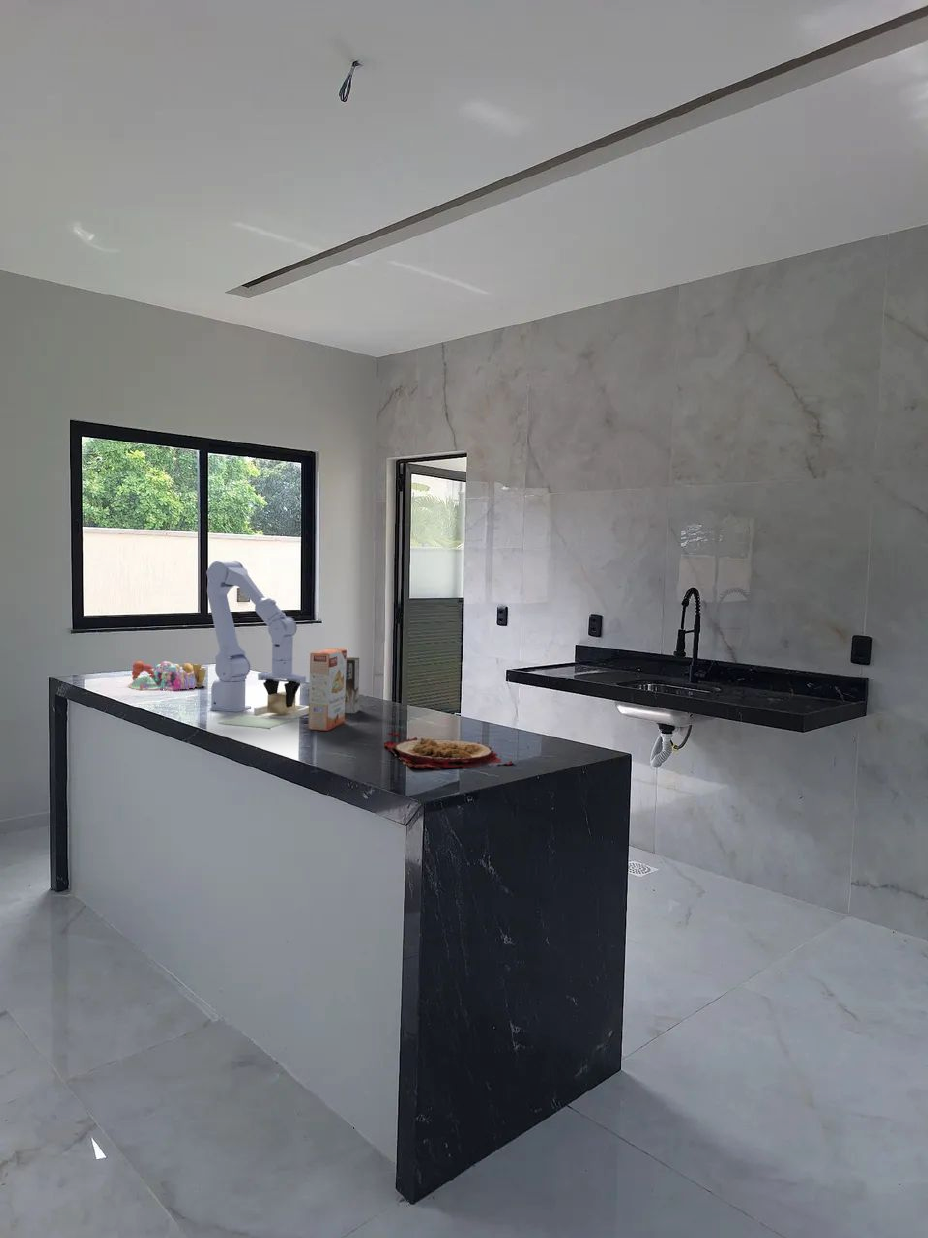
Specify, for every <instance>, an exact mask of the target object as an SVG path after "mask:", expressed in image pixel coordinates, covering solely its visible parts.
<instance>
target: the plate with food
mask: <svg viewBox="0 0 928 1238" xmlns="http://www.w3.org/2000/svg"><path fill="white" fill-rule="evenodd" d="M387 735H390V736H394V737H395V739H398V737H403V735H402V734H401V733H400V734H399V733H392V732H391V733H390V732H388V733H387ZM399 739H400V740H401V738H399ZM382 744H383V745H384V748H387V752H390V753H393V754H394V756H395V757H398V755H397V754H396V752H398V753H399V757H398V759H399V761H401V762H402V764H403V765H405V766H406V765H407V766H408V767H409V768H410V767H411V768H416V769H421V770H424V769H427V768H432V769H435V770H439V769H442V768H443V769H444V768H450V769H451V768H462V769H466V767H467V768H476V767H477V766H479V767H480V765H485V764H491V763H492V765H488V767H490V768H493V767H494V764H495V763H496V764H497V765H496V764H495V767H497V766H503V765H505V766H509V765H514V764H515V762H513V761H512V760H510V761H508V763H506V762H504V763H502V761H501V759H502V755H499V757H500V758H501V759H500V758H498V753H496V752H494V751H493V750H492V749H493V748H492V747H491V746H488V745H485V744H481V743H480V742H473V741H467V740H465V741H464V740H459V739H455V740H454V739H441V738H433V739H432V738H430V737H425V738H423V737H421V738H420V739H418V737H417V736H415V737H413V738H406V739H405V740H404V741H399V742H397V743H396V742H395V741H394V740H390V741H388V740H387V741H386V742H385V741H383V740H382ZM501 763H502V764H501ZM413 764H414V765H413Z"/></svg>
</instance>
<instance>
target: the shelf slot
mask: <svg viewBox="0 0 928 1238" xmlns="http://www.w3.org/2000/svg"><path fill="white" fill-rule="evenodd" d="M306 715H309V705H299V704H295V710H292V711H289V712H286V713H282V714H277V713H267V704H265V705H264V704H263V705H261V706H257V707H254V708H253V716H262V717H269V718H270V717H271V718H272V717H273V718H282V719H283V718H285V719H292V720H293V719H297V718H300V717H304V716H306Z"/></svg>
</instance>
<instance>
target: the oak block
mask: <svg viewBox="0 0 928 1238" xmlns="http://www.w3.org/2000/svg"><path fill="white" fill-rule="evenodd" d="M266 703H267V704H266V705H267V713H277V714H282V713H286V712H289V711H292V710H295V705H296V696H295V697H294V700H293V704H292V707H287V706H286V691H277V693H274V694H271V695H268V694H267V702H266Z"/></svg>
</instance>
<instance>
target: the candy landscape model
mask: <svg viewBox="0 0 928 1238" xmlns="http://www.w3.org/2000/svg"><path fill="white" fill-rule="evenodd" d="M192 664H193V665H192ZM192 664H191V663H190V662H183V663H182V668H180V667H181V666H180V664H178V663H172V662H171V661H166V660H165V661H162V662H161V663H158V664H156V666H155V668H154V669H152V665H150V664H148V663H146V664H145V662H143V661H141V660H140V661H139V660H138V661H136V662H134V663H133V665H132V672H131V673H132V682H130V683H129V684H128V687H129V689H131V688H133V689H132V690H134V689H136V690H137V691H143V690H155V691H166V690H177V691H179V690H178V689H187V690H188V688H193V689H194V688H195V687H197V688H203V687H205V685H206V684H204V682H203V681H204V679H205V676H206V672H207V671H206V669H205V668H202V666H203V665H202V664H201V663H196V664H195V663H192ZM181 669H182V670H181ZM143 672H146V673H147V674H148V675H143V676H141V677H139V676H140V675H141V674H142V673H143ZM202 686H203V687H202ZM159 689H161V690H159ZM162 689H164V690H162ZM195 689H196V688H195ZM136 690H135V691H136Z"/></svg>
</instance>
